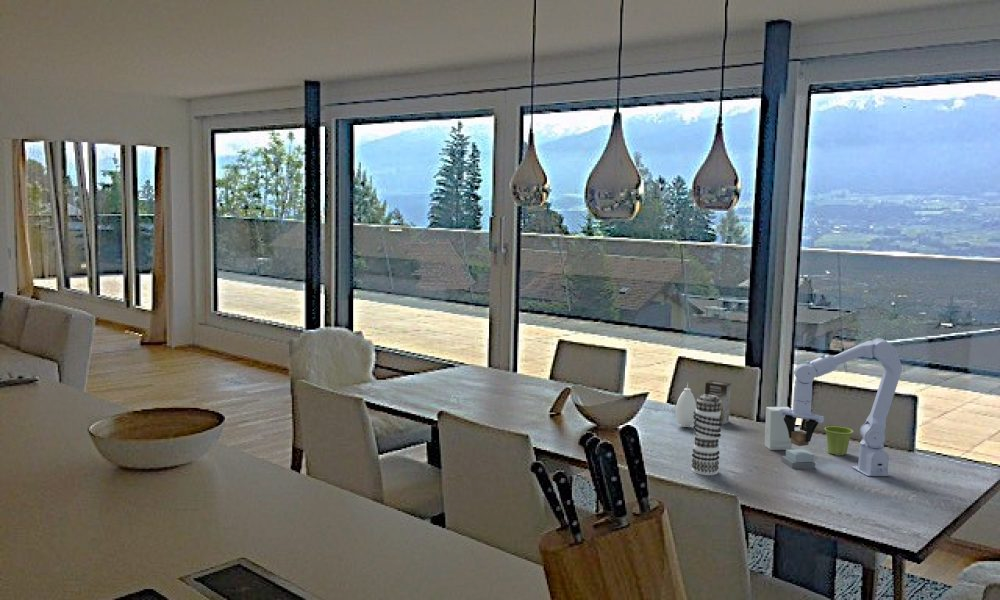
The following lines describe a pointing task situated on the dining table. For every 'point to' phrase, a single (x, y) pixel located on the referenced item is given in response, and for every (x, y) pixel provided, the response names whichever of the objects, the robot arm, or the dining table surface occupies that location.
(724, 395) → the coffee box
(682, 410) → the sauce bottle
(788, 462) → the base slab
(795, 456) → the top slab
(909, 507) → the dining table surface
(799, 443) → the walnut cube
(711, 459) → the decorative candle
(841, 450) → the plant pot
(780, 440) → the skincare box
